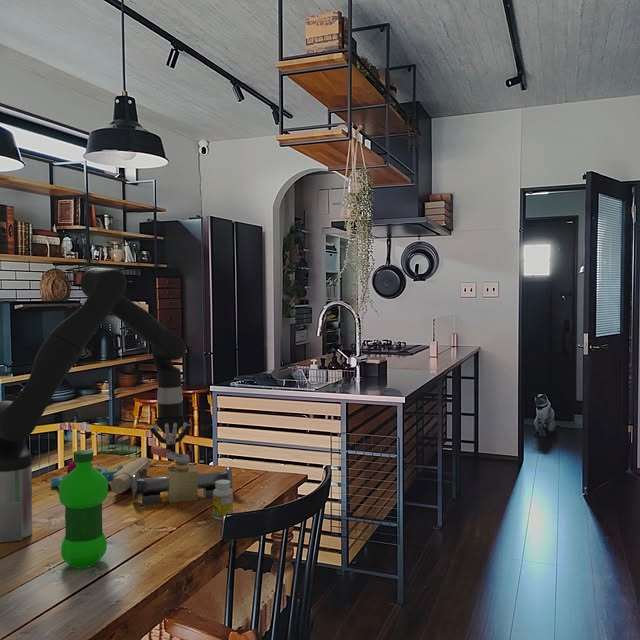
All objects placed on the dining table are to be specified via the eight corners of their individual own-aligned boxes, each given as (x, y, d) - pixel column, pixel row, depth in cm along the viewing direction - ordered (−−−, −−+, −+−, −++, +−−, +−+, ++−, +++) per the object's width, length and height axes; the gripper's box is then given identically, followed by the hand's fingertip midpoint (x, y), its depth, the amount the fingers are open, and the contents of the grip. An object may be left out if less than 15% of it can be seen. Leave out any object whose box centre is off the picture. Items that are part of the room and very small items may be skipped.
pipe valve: (228, 489, 189) (228, 457, 188) (232, 496, 182) (232, 463, 182) (132, 498, 180) (132, 464, 179) (132, 506, 173) (132, 471, 173)
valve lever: (192, 462, 180) (192, 455, 180) (180, 465, 178) (180, 458, 178) (160, 451, 193) (160, 445, 193) (148, 453, 190) (148, 447, 190)
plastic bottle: (67, 554, 141) (66, 446, 140) (114, 553, 141) (113, 446, 141) (51, 574, 131) (50, 458, 130) (102, 572, 131) (101, 457, 131)
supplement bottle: (235, 518, 164) (235, 483, 164) (215, 521, 162) (215, 485, 162) (229, 512, 169) (229, 477, 169) (210, 514, 167) (210, 480, 167)
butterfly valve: (32, 508, 179) (134, 498, 178) (30, 485, 178) (131, 475, 178) (71, 481, 205) (160, 472, 205) (69, 461, 205) (157, 452, 204)
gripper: (148, 404, 185) (149, 460, 186) (192, 401, 189) (193, 456, 190) (147, 400, 192) (148, 454, 193) (190, 397, 196) (191, 450, 197)
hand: (170, 455), depth 192 cm, fingers closed
